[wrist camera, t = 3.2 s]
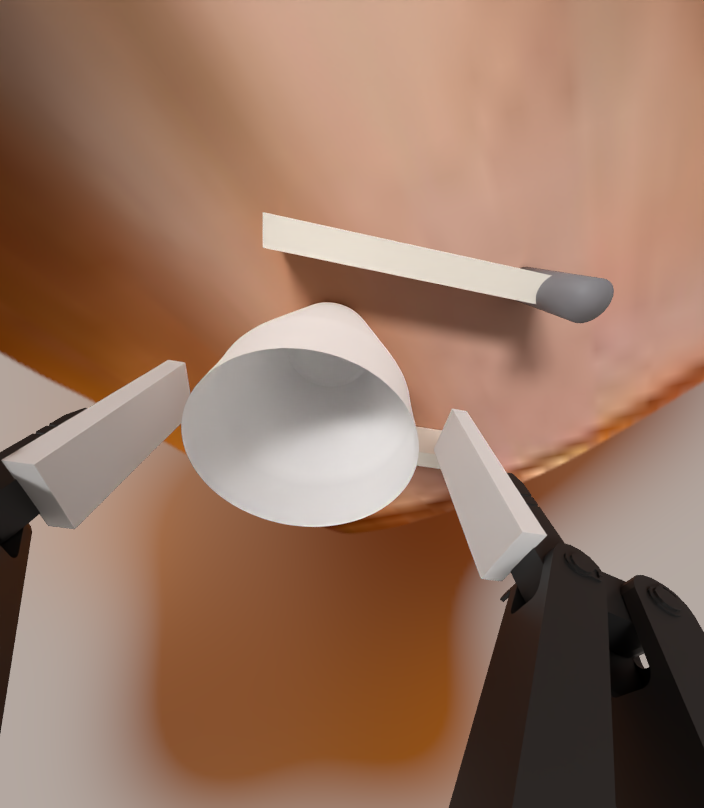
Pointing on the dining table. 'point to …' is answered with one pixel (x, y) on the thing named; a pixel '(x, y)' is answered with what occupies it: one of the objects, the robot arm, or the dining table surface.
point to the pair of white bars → (441, 278)
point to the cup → (304, 421)
